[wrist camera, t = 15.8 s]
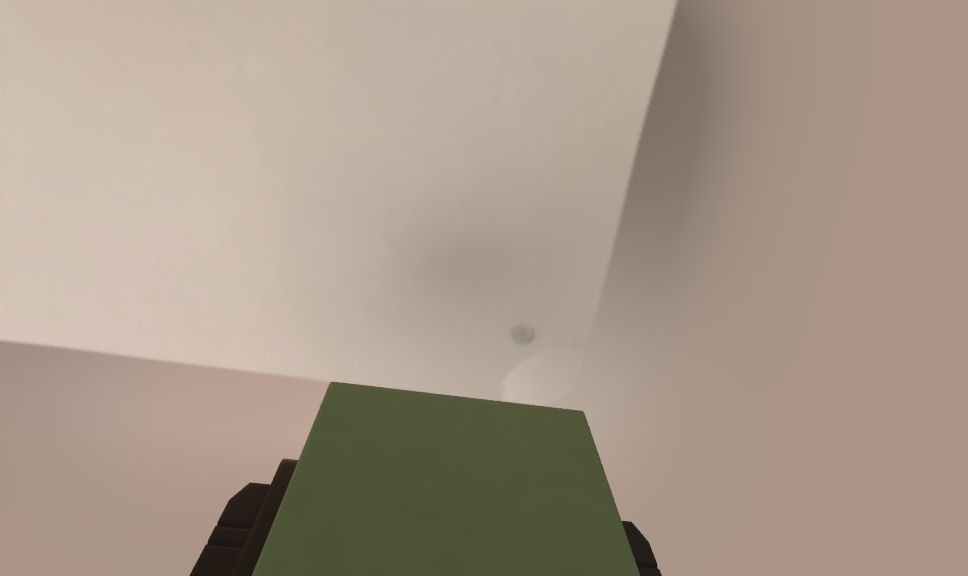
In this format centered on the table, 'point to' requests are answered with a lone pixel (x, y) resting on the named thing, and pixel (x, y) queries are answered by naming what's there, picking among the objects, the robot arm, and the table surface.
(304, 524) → the block
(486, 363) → the table surface
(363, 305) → the table surface
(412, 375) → the table surface
